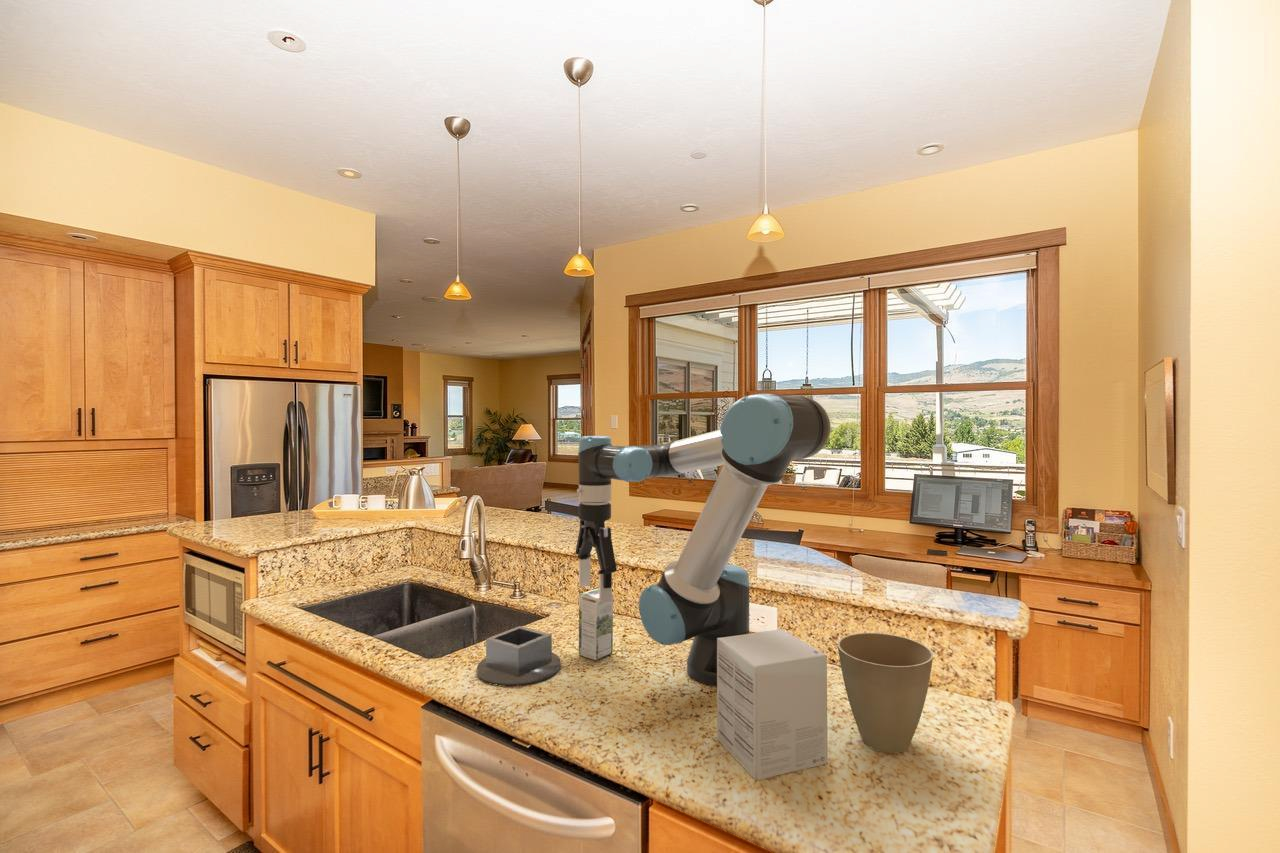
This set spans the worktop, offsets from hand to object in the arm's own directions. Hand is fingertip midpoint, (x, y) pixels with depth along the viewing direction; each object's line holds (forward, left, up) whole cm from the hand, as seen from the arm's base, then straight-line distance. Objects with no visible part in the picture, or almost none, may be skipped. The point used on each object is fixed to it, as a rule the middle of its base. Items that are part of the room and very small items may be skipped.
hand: (594, 593), depth 141 cm
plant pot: (-57, -30, -14) cm, 66 cm away
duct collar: (0, +18, -14) cm, 23 cm away
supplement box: (-51, -11, -14) cm, 54 cm away
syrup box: (0, 0, -14) cm, 14 cm away
